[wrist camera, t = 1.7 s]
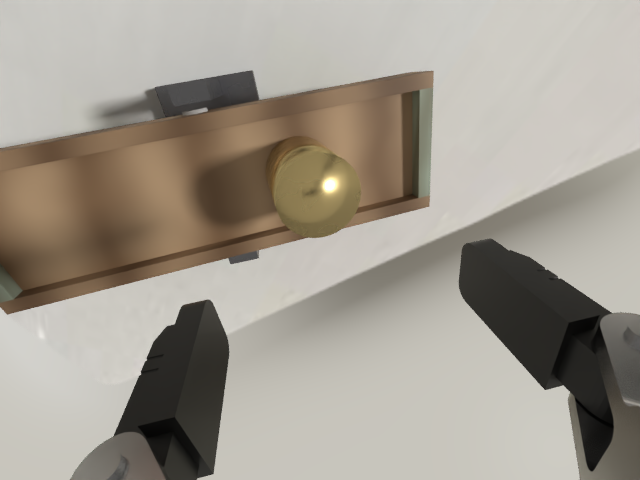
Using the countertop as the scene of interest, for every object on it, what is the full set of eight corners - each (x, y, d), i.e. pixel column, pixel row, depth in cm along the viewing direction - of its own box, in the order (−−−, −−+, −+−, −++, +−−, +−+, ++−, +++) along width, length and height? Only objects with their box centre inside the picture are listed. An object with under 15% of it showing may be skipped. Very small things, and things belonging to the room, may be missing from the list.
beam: (411, 69, 23) (433, 67, 20) (411, 196, 28) (429, 208, 25) (-72, 157, 18) (-123, 170, 16) (34, 290, 23) (9, 316, 21)
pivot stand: (252, 70, 26) (247, 68, 19) (286, 216, 33) (291, 253, 26) (159, 86, 25) (118, 90, 18) (213, 231, 32) (198, 273, 25)
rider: (327, 129, 21) (357, 144, 16) (336, 195, 24) (364, 226, 19) (257, 143, 21) (265, 164, 15) (274, 210, 23) (285, 246, 18)
